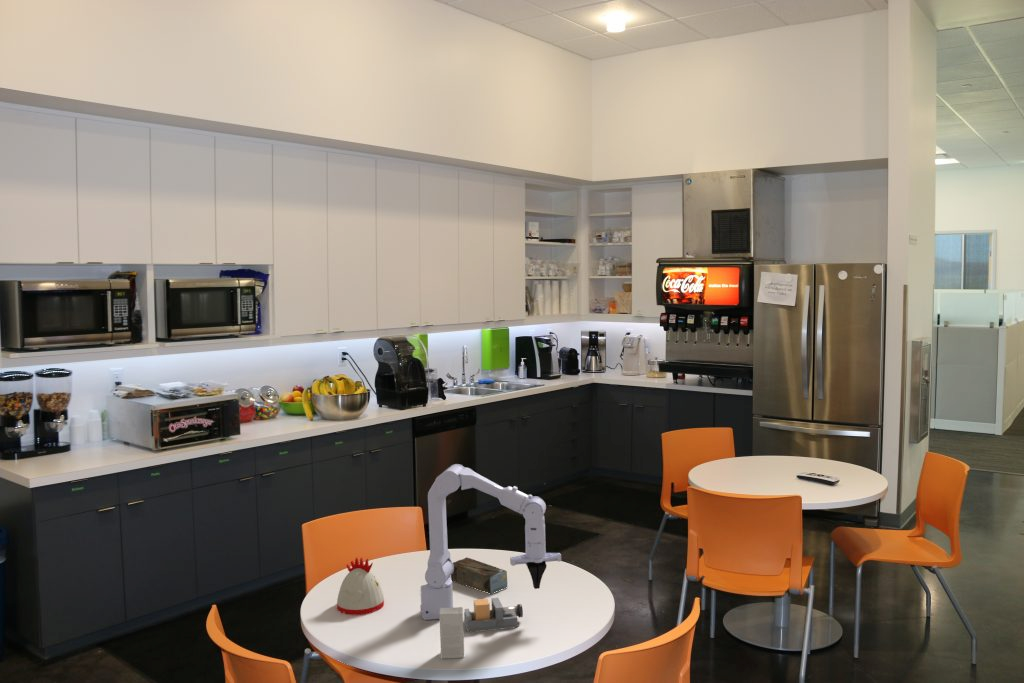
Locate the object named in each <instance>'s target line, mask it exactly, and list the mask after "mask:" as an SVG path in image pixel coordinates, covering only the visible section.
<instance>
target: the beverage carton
mask: <svg viewBox="0 0 1024 683" xmlns="http://www.w3.org/2000/svg"><path fill="white" fill-rule="evenodd" d="M452 563H453V565H454V571H453V573H452V574H451V575H450V577H451V580H453V581H452V582H454V581H455V583H457V582H458V584H460V583H461V584H460V585H463V584H464V585H463V586H466V585H467V586H466V587H468V586H470V587H469V588H471V587H473V588H472V589H474V588H476V589H478V590H477V591H479V590H481V591H480V592H482V591H485V592H488V593H490V594H489V595H493V594H492V593H494V592H496V591H499V590H501V589H504V588H506V587H507V588H508V572H507V570H505V569H503V568H499V567H497V566H494V565H490V564H487V563H485V562H482V561H480V560H476V559H473V558H471V557H465V558H462V559H459V560H457V561H454V562H453V561H452ZM507 588H506V589H507ZM476 589H475V590H476ZM504 590H505V589H504ZM501 591H502V590H501ZM485 592H484V593H485ZM499 592H500V591H499ZM488 593H487V594H488ZM496 593H497V592H496ZM494 594H495V593H494Z"/></svg>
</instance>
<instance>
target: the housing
mask: <svg viewBox="0 0 1024 683" xmlns="http://www.w3.org/2000/svg"><path fill="white" fill-rule="evenodd" d="M503 607H504V606H503V604H502V602H501V600H500V598H499V597H492V598H491V609H490V619H486V620H476V621H474V611H470V608H464V613H463V622H464V624H465V626H466V627H465V628H466V629H467V632H468V633H474V632H475V633H476V632H484V631H493V630H495V631H496V630H502V629H501V628H505V629H513V627H514V628H518V627H519V626H518V616H515V617H505V618H503Z"/></svg>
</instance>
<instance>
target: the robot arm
mask: <svg viewBox="0 0 1024 683" xmlns="http://www.w3.org/2000/svg"><path fill="white" fill-rule="evenodd" d="M460 487H461V488H460ZM459 488H460V489H461V491H464V490H469V489H476V490H477V491H479V492H483V493H485V494H487V495H489V496H492V497H494V498H496V499H498V500H499V503H500V505H502V506H504V507H506V508H508V509H510V510H512V511H514V512H516V513H519V515H522V516H523V518H524V519H525V525H524V534H525V536H524V537H525V538H524V539H525V540H524V542H525V554H520V555H515V556H510V557H509V558H510V560H509V562H510V565H511V566H512V567H514V566H516V565H525V566H526V568H527V569H528V572H529V573H530V574H529V575H530V577H531V580H532V586H533V589H534V590H536V589H540V587H541V581H542V578H543V575H544V573H545V571H546V570H547V563H548V562H558V563H559V562H562V554H561V553H560V552H547V551H546V550H547V549H546V522H545V520H546V518H545V515H544V514H545V513H546V509H547V505H546V501H544V499H542V498H541V497H540V496H536V495H535V496H533V495H532V494H526V493H524V492H523V491H520V490H518V489H519V488H518V486H516V485H514V486H513V487H512V486H510V485H508V486H507V487H503V486H501V485H499V484H498V483H496V482H494V481H492V480H490V479H489V478H487V477H485V476H482V475H481V474H479V473H477V472H475V471H474V470H473V469H472V468H470V467H465V466H463V464H459V463H455V464H452V465H450V466H449V467H447V468H446V469H445V470H444V471H443V472H442V473H440V474H439V475H437V477H436V478H435V480H434V482H433V484H432V485H431V487H430V488H429V491H428V492H427V504H428V505H427V508H428V511H427V512H428V530H429V531H428V533H429V556H428V559H427V569H426V572H425V573H424V580H425V582H426V584H422V585H420V607H419V608H420V612H421V616H422V620H424V621H428V620H437V619H439V613H440V608H454V600H453V599H454V598H453V596H454V595H453V581H452V580H451V574H452V573H453V571H454V565H453V560H452V559H451V553H450V551H449V548H448V526H447V522H448V521H447V500H446V498H447V496H449V495H450V494H452V493H454V492H456V491H457V490H458V489H459ZM439 620H440V619H439Z"/></svg>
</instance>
